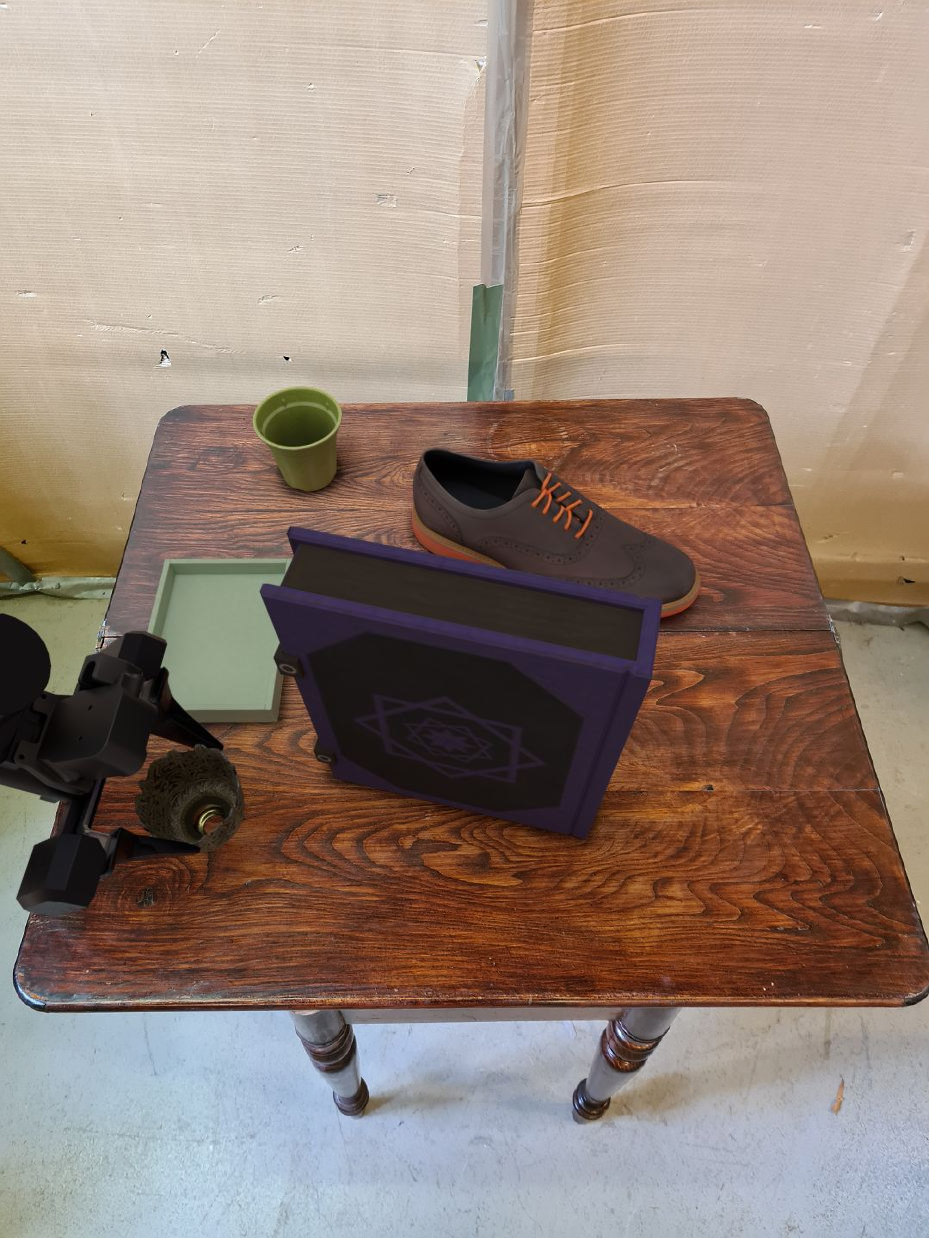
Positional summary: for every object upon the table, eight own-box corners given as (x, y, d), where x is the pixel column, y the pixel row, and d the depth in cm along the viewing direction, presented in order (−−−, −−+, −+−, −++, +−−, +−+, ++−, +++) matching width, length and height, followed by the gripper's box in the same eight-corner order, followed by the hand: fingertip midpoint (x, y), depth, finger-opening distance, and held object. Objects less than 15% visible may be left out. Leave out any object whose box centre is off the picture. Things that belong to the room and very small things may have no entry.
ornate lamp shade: (167, 881, 62) (132, 852, 55) (167, 791, 66) (133, 754, 59) (264, 861, 63) (241, 831, 56) (258, 774, 66) (235, 735, 60)
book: (596, 777, 72) (664, 592, 46) (584, 845, 69) (651, 684, 43) (348, 720, 75) (286, 517, 50) (326, 781, 72) (247, 598, 46)
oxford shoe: (680, 652, 79) (709, 588, 69) (391, 564, 85) (380, 493, 75) (702, 567, 84) (732, 496, 75) (429, 490, 90) (424, 415, 81)
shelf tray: (138, 722, 75) (127, 710, 73) (173, 574, 84) (164, 558, 82) (277, 722, 75) (271, 709, 73) (297, 573, 84) (292, 558, 82)
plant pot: (330, 432, 95) (318, 374, 88) (365, 483, 91) (356, 427, 83) (257, 461, 93) (239, 405, 85) (289, 515, 88) (273, 461, 81)
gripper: (-29, 861, 39) (243, 920, 48) (85, 558, 49) (293, 654, 58) (-92, 891, 46) (157, 937, 55) (20, 619, 56) (215, 697, 65)
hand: (209, 799), depth 58 cm, fingers closed on ornate lamp shade, 7 cm apart
